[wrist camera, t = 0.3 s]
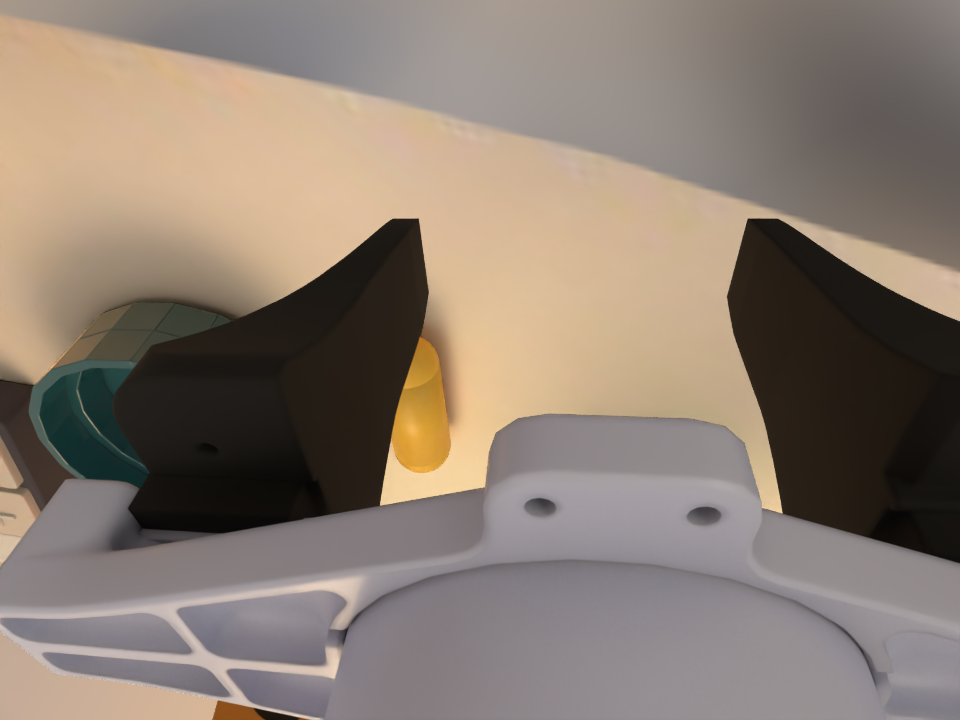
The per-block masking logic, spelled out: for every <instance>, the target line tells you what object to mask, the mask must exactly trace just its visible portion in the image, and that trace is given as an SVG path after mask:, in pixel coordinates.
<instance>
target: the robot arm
mask: <svg viewBox="0 0 960 720" xmlns="http://www.w3.org/2000/svg"><path fill="white" fill-rule="evenodd" d="M428 294H429V291H428V284H427V277H426V269H425V262H424V255H423V247H422V240H421V233H420V225H419V219H392V220H390V221H389V222H387V223H386V224H385V225H384V226H382V227H381V228H380V229H379V230H377V231H376V232H375V233H374V234H373V235H372V236H370V237H369V238H368V239H367V240H366V241H364V242H363V243H362V244H361V245H360V246H358V247H357V248H356V249H355V250H353V251H352V252H351V253H350V254H349V255H347V256H346V257H345V258H344V259H342V260H341V261H339V262H338V263H337V264H335V265H334V266H333V267H331V268H330V269H329V270H327V271H326V272H324V273H323V274H322V275H320V276H319V277H317V278H316V279H314V280H313V281H311V282H310V283H308V284H307V285H305V286H303V287H302V288H300V289H298V290H297V291H295V292H293V293H291V294H290V295H288V296H286V297H284V298H282V299H280V300H278V301H276V302H274V303H272V304H270V305H268V306H266V307H263V308H261V309H259V310H257V311H255V312H253V313H251V314H248V315H246V316H244V317H241V318H239V319H236V320H233V321H231V322H228V323H225V324H223V325H220V326H217V327H214V328H211V329H208V330H205V331H202V332H199V333H195V334H192V335H188V336H184V337H181V338H177V339H173V340H170V341H166V342H162V343H158V344H154V345H151V346H150V348H149V349H148V350H147V351H146V353H145V354H144V355H143V357H142V358H141V359H140V361H139V362H138V363H137V364H136V366H135V367H134V368H133V370H132V371H131V372H130V373H129V375H128V376H127V377H126V379H125V380H124V381H123V383H122V384H121V385H120V386H119V388H118V389H117V390H116V393H115V395H114V398H113V401H112V407H113V415H114V417H115V419H116V421H117V423H118V425H119V427H120V429H121V431H122V433H123V434H124V436H125V437H126V439H127V440H128V442H129V443H130V445H131V446H132V448H133V449H134V451H135V452H136V454H137V455H138V457H139V458H140V459H141V461H142V462H143V464H144V465H145V467H146V468H147V470H148V471H149V473H150V474H149V475H148V477H147V479H146V480H145V482H144V483H143V485H142V487H141V488H140V489H139V488H138V487H136V486H134V485H132V484H130V483H127V482H122V481H113V480H94V479H75V478H72V479H66V480H65V481H64V482H63V484H62V485H61V486H60V488H59V489H58V490H57V492H56V493H55V494H54V496H53V497H52V498H51V500H50V501H49V502H48V504H47V505H46V506H45V508H44V509H43V510H42V512H41V513H40V514H39V516H38V517H37V518H36V520H35V521H34V522H33V524H32V525H31V526H30V528H29V529H28V530H27V532H26V533H25V535H24V536H23V537H22V539H21V540H20V541H19V543H18V544H17V545H16V547H15V548H14V549H13V551H12V552H11V553H10V555H9V556H8V557H7V559H6V560H5V561H4V563H3V564H2V565H1V567H0V632H1V633H2V634H4V635H5V636H6V637H7V638H9V639H10V640H11V641H13V642H14V643H15V644H17V645H18V646H19V647H21V648H22V649H23V650H24V651H26V652H27V653H28V654H30V655H31V656H32V657H34V658H35V659H36V660H38V661H39V662H40V663H41V664H43V665H44V666H45V667H47V668H48V669H49V670H51V671H52V672H53V673H55V674H57V675H66V676H74V677H84V678H92V679H101V680H110V681H116V682H122V683H129V684H135V685H142V686H148V687H154V688H159V689H165V690H170V691H175V692H180V693H185V694H190V695H195V696H201V697H205V698H210V699H215V700H219V701H224V702H229V703H234V704H238V705H243V706H248V707H253V708H257V709H262V710H267V711H272V712H277V713H281V714H286V715H291V716H296V717H300V718H305V719H310V720H960V321H957V320H955V319H952V318H950V317H947V316H945V315H942V314H940V313H938V312H935V311H933V310H931V309H928V308H926V307H924V306H922V305H920V304H918V303H916V302H914V301H912V300H910V299H908V298H906V297H903V296H901V295H899V294H897V293H895V292H894V291H892V290H890V289H888V288H886V287H884V286H883V285H881V284H879V283H877V282H876V281H874V280H872V279H871V278H869V277H867V276H865V275H864V274H862V273H860V272H859V271H857V270H856V269H854V268H852V267H851V266H849V265H848V264H846V263H845V262H843V261H842V260H840V259H838V258H837V257H835V256H834V255H833V254H831V253H830V252H828V251H827V250H825V249H824V248H822V247H821V246H819V245H818V244H816V243H815V242H814V241H812V240H811V239H809V238H808V237H806V236H805V235H803V234H802V233H800V232H799V231H797V230H796V229H794V228H793V227H791V226H790V225H788V224H787V223H785V222H783V221H781V220H779V219H748V220H747V223H746V227H745V231H744V235H743V238H742V242H741V246H740V250H739V254H738V257H737V261H736V265H735V269H734V272H733V276H732V280H731V284H730V287H729V291H728V295H727V299H728V306H729V312H730V318H731V323H732V328H733V333H734V336H735V339H736V342H737V345H738V348H739V351H740V354H741V357H742V359H743V362H744V365H745V368H746V371H747V373H748V376H749V379H750V382H751V384H752V387H753V390H754V393H755V396H756V398H757V401H758V404H759V407H760V409H761V413H762V416H763V419H764V423H765V426H766V430H767V435H768V439H769V444H770V449H771V453H772V458H773V462H774V467H775V473H776V478H777V483H778V489H779V494H780V499H781V505H782V512H783V514H781V513H778V512H774V511H771V510H767V509H764V508H762V506H761V499H760V495H759V492H758V488H757V485H756V481H755V478H754V475H753V471H752V468H751V464H750V461H749V457H748V454H747V450H746V447H745V443H744V442H743V441H742V440H741V439H739V438H738V437H737V436H736V435H735V434H734V433H732V432H731V431H730V430H729V429H728V428H727V427H725V426H722V425H718V424H713V423H709V422H704V421H700V420H695V419H686V418H658V417H630V416H602V415H574V414H543V415H537V416H530V417H523V418H518V419H516V420H515V421H513V422H512V423H510V424H509V425H507V426H506V427H504V428H503V429H501V430H500V431H498V432H496V434H495V437H494V440H493V442H492V445H491V448H490V451H489V457H488V466H487V475H486V484H485V488H479V489H473V490H468V491H462V492H456V493H451V494H445V495H439V496H433V497H428V498H422V499H416V500H411V501H405V502H399V503H394V504H388V505H382V506H380V500H381V494H382V487H383V481H384V475H385V470H386V464H387V458H388V452H389V447H390V442H391V436H392V431H393V426H394V421H395V416H396V412H397V408H398V404H399V401H400V397H401V394H402V391H403V388H404V385H405V382H406V379H407V376H408V372H409V369H410V366H411V363H412V360H413V357H414V354H415V351H416V348H417V345H418V342H419V338H420V335H421V332H422V329H423V324H424V319H425V313H426V307H427V300H428Z"/></svg>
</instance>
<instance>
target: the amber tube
mask: <svg viewBox="0 0 960 720" xmlns="http://www.w3.org/2000/svg"><path fill="white" fill-rule="evenodd" d="M391 439H392V444H393V448H394V452H395V455H396V457H397V459H398V460H399V462H400V463H401V464H402V465H403V466H404V467H405V468H407V469H409V470H411V471H413V472H417V473H426V472H430V471H433V470H435V469H437V468H438V467H440V466H441V465H442V464H443V463H444V462H445V460H446V459H447V457H448V454H449V451H450V443H451V442H450V434H449V426H448V419H447V412H446V405H445V398H444V391H443V384H442V376H441V369H440V362H439V358H438V354H437V352H436V351H435V349H434V347H433V346H432V345H431V344H430V343H429V342H428V341H427V340H425V339H424V338H422V337H420V338H419V342H418V345H417V348H416V351H415V354H414V357H413V360H412V363H411V366H410V369H409V372H408V376H407V379H406V382H405V385H404V388H403V391H402V394H401V397H400V401H399V404H398V408H397V412H396V416H395V421H394V426H393V431H392V436H391Z"/></svg>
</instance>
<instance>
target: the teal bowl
mask: <svg viewBox="0 0 960 720" xmlns="http://www.w3.org/2000/svg"><path fill="white" fill-rule="evenodd" d="M231 321H232V320H230V319H228V318H226V317H224V316H222V315H218V314H215V313H211V312H208V311H204V310H200V309H196V308H192V307H188V306H184V305H180V304H176V303H141V302H136V303H132V304H129V305H126V306H123V307H120V308H117V309H113V310H110V311H107V312H104V313H103V314H101V315H100V316H99V317H98V318H97V319H96V320H95V321H94V322H93V323H92V324H91V325H90V326H89V327H88V328H87V329H86V330H85V331H84V332H83V333H82V334H81V335H80V336H79V337H78V338H77V339H76V340H75V341H74V343H73V344H72V345H71V346H70V347H69V348H68V349H67V350H66V351H65V352H64V353H63V355H62V356H61V357H60V358H59V359H58V360H57V361H56V362H55V363H54V364H53V365H52V366H51V368H50V369H49V370H48V371H47V372H46V373H45V374H44V375H43V376H42V377H41V378H40V380H39V381H38V382H37V383H36V384H35V385H34V386H33V388H32V393H31V399H30V405H29V415H30V418H31V420H32V423H33V426H34V428H35V431H36V433H37V436H38V438H39V440H40V441H41V442H42V444H43V445H44V446H45V447H46V448H47V450H48V451H49V452H50V453H51V454H52V456H53V457H54V458H55V459H56V460H57V462H58V463H59V464H60V465H61V466H62V467H64V468H65V469H66V470H67V471H69V472H70V473H71V474H73V475H74V476H75V477H76V478H78V479H94V480H113V481H122V482H127V483H130V484H132V485H134V486H136V487H138V488H139V489H140V488H141V487H142V485H143V483H144V482H145V480H146V479H147V477H148V475H149V474H150V473H149V471H148V470H147V468H146V467H145V465H144V464H143V462H142V461H141V459H140V458H139V457H138V455H137V454H136V452H135V451H134V449H133V448H132V446H131V445H130V443H129V442H128V440H127V439H126V437H125V436H124V434H123V433H122V431H121V429H120V427H119V425H118V423H117V421H116V419H115V417H114V415H113V407H112V401H113V398H114V395H115V393H116V390H117V389H118V388H119V386H120V385H121V384H122V383H123V381H124V380H125V379H126V377H127V376H128V375H129V373H130V372H131V371H132V370H133V368H134V367H135V366H136V364H137V363H138V362H139V361H140V359H141V358H142V357H143V355H144V354H145V353H146V351H147V350H148V349H149V348H150V346H151V345H154V344H158V343H162V342H166V341H170V340H173V339H177V338H181V337H184V336H188V335H192V334H195V333H199V332H202V331H205V330H208V329H211V328H214V327H217V326H220V325H223V324H225V323H228V322H231Z"/></svg>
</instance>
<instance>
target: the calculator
mask: <svg viewBox="0 0 960 720" xmlns="http://www.w3.org/2000/svg"><path fill="white" fill-rule="evenodd" d="M32 388H33V387H32V386H29V385H23V384H17V383H11V382H6V381H0V562H4V561H5V560H6V559H7V557H8V556H9V555H10V553H11V552H12V551H13V549H14V548H15V547H16V545H17V544H18V543H19V541H20V540H21V539H22V537H23V536H24V535H25V533H26V532H27V530H28V529H29V528H30V526H31V525H32V524H33V522H34V521H35V520H36V518H37V517H38V516H39V514H40V513H41V512H42V510H43V509H44V508H45V506H46V505H47V504H48V502H49V501H50V500H51V498H52V497H53V496H54V494H55V493H56V492H57V490H58V489H59V488H60V486H61V485H62V484H63V482H64V481H65V480H66V479H72V478H75V479H78V478H76V477H75V476H74V475H73V474H71V473H70V472H69V471H67V470H66V469H65V468H64V467H62V466H61V465H60V464H59V463H58V462H57V460H56V459H55V458H54V457H53V456H52V454H51V453H50V452H49V451H48V450H47V448H46V447H45V446H44V445H43V444H42V442H41V441H40V440H39V438H38V436H37V433H36V431H35V428H34V426H33V423H32V420H31V418H30V415H29V405H30V399H31V393H32Z"/></svg>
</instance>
